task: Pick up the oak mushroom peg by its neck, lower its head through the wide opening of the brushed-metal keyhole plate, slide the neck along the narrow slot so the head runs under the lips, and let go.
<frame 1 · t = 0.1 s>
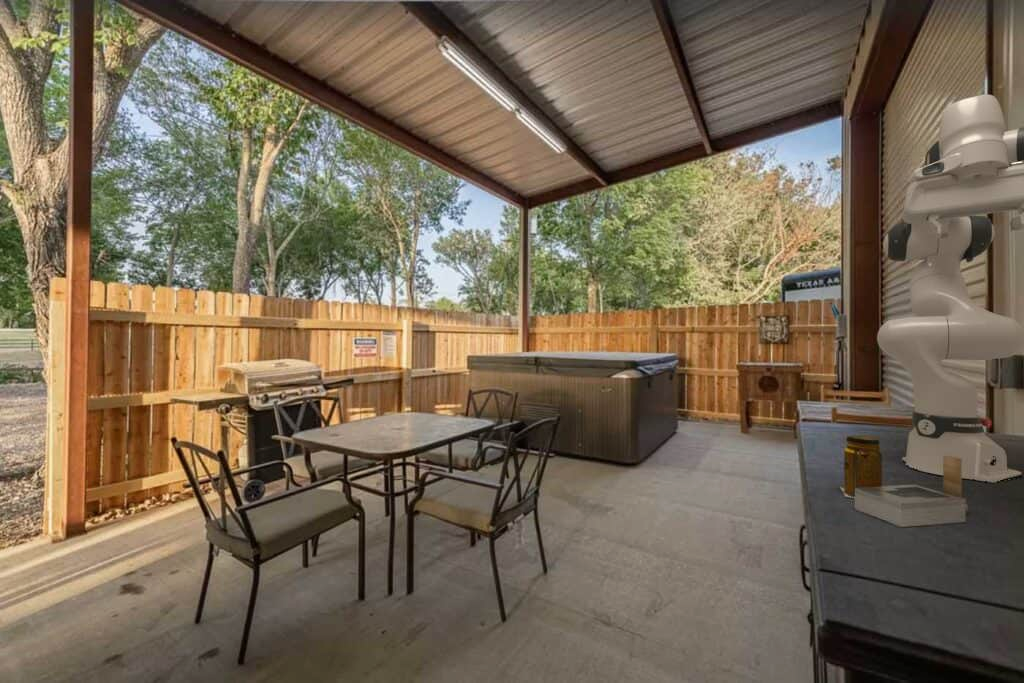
hand: (978, 232, 77), 52 cm above the table, tool tilted 20°, fingers open, 8 cm apart
keyhole plate: (908, 515, 77), on the table
condiment: (868, 497, 87), on the table
peg: (952, 510, 79), on the table
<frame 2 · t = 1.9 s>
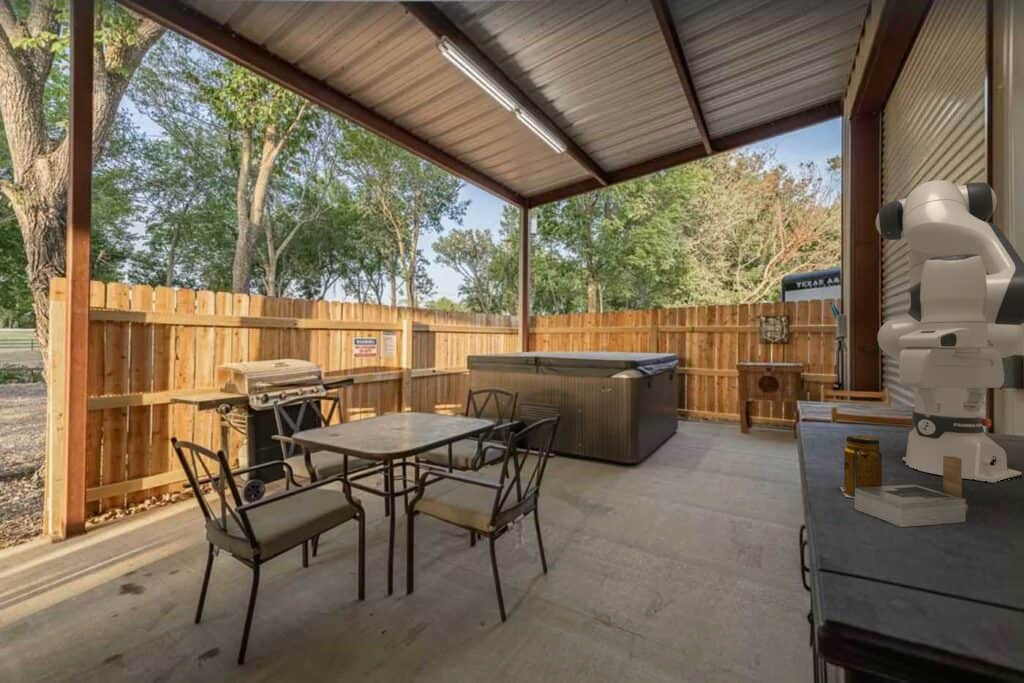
hand: (952, 411, 80), 19 cm above the table, tool pointing down, fingers open, 8 cm apart
nothing on the table moved.
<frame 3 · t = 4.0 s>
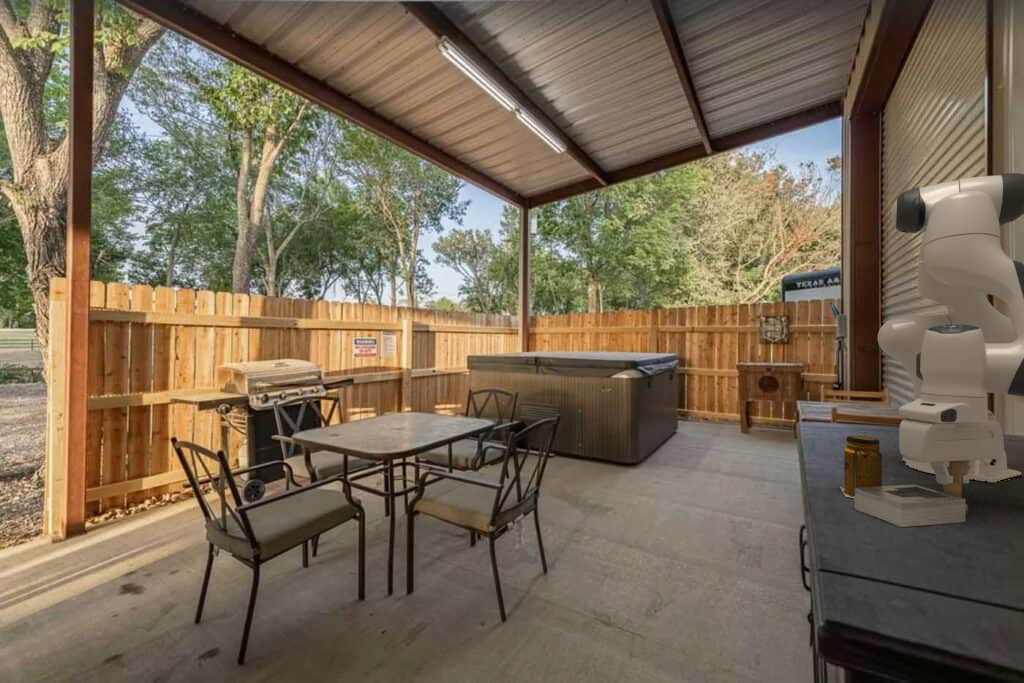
hand: (952, 483, 80), 5 cm above the table, tool pointing down, fingers closed on peg, 2 cm apart
peg: (952, 510, 79), on the table, touching gripper
everything else where it was.
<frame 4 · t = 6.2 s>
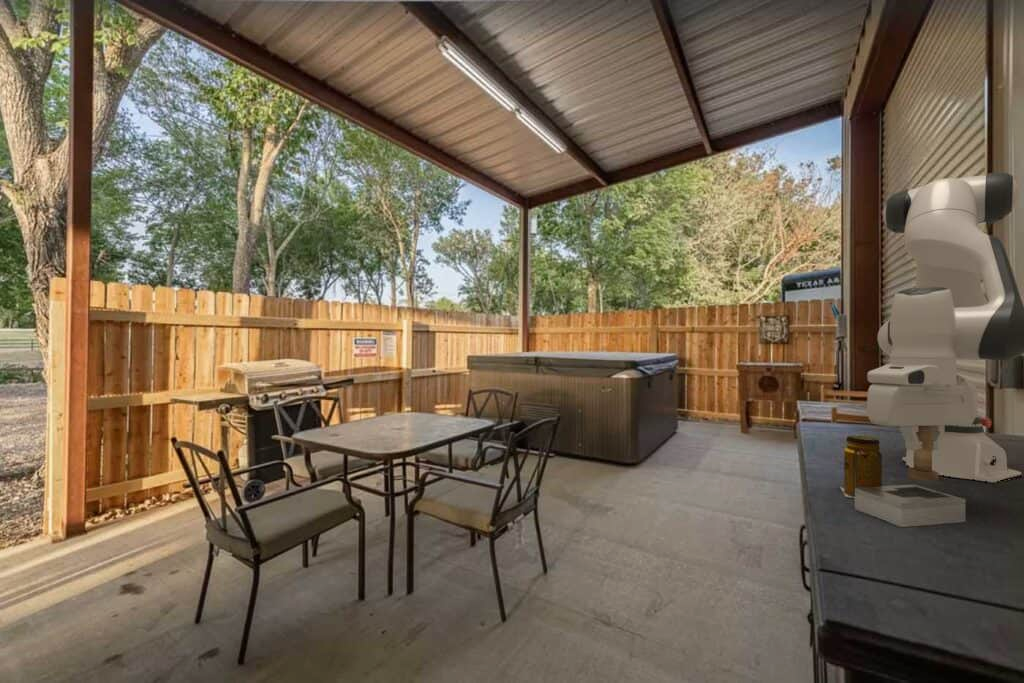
hand: (922, 449, 77), 12 cm above the table, tool pointing down, fingers closed on peg, 2 cm apart
peg: (922, 478, 77), point 7 cm above the table, touching gripper
everything else where it was.
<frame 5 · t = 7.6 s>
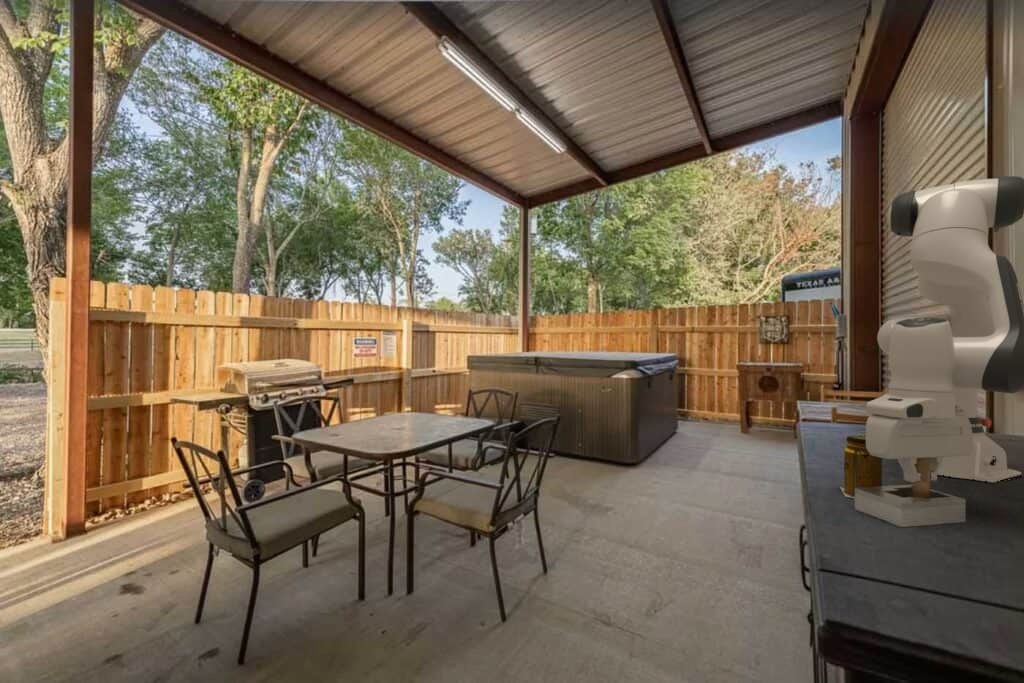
hand: (920, 480, 77), 6 cm above the table, tool pointing down, fingers closed on peg, 2 cm apart
peg: (921, 509, 77), point 1 cm above the table, touching gripper
everything else where it was.
when the fingers open (6 cm above the table, at t = 8.7 s): peg stays where it is, resting on keyhole plate.
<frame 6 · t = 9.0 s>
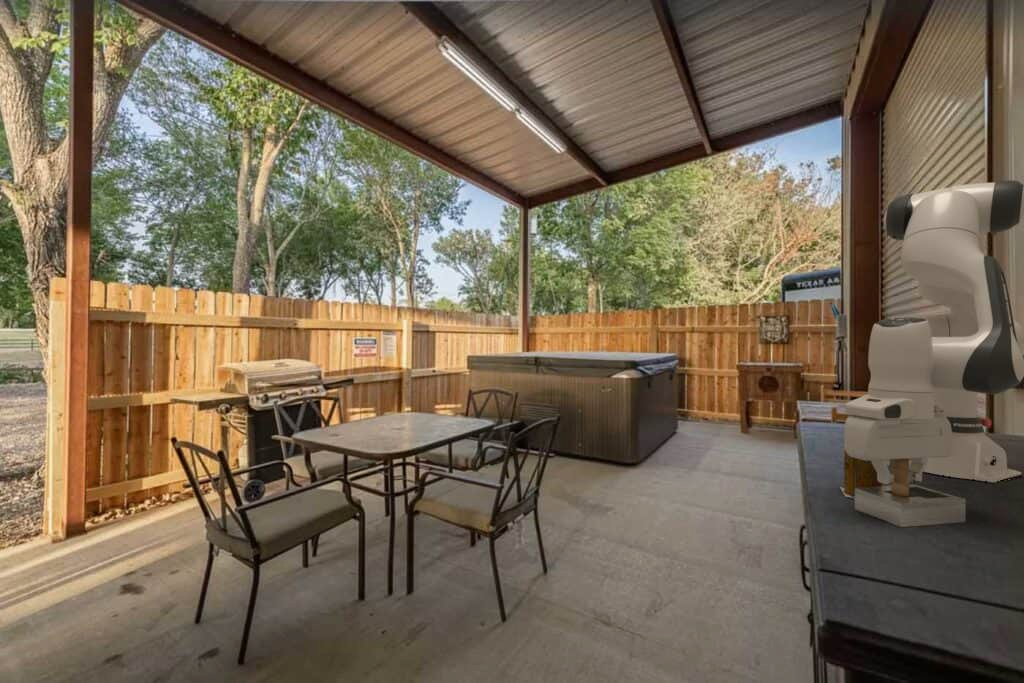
hand: (899, 482, 77), 6 cm above the table, tool pointing down, fingers open, 5 cm apart
peg: (900, 513, 76), resting on keyhole plate
everything else where it was.
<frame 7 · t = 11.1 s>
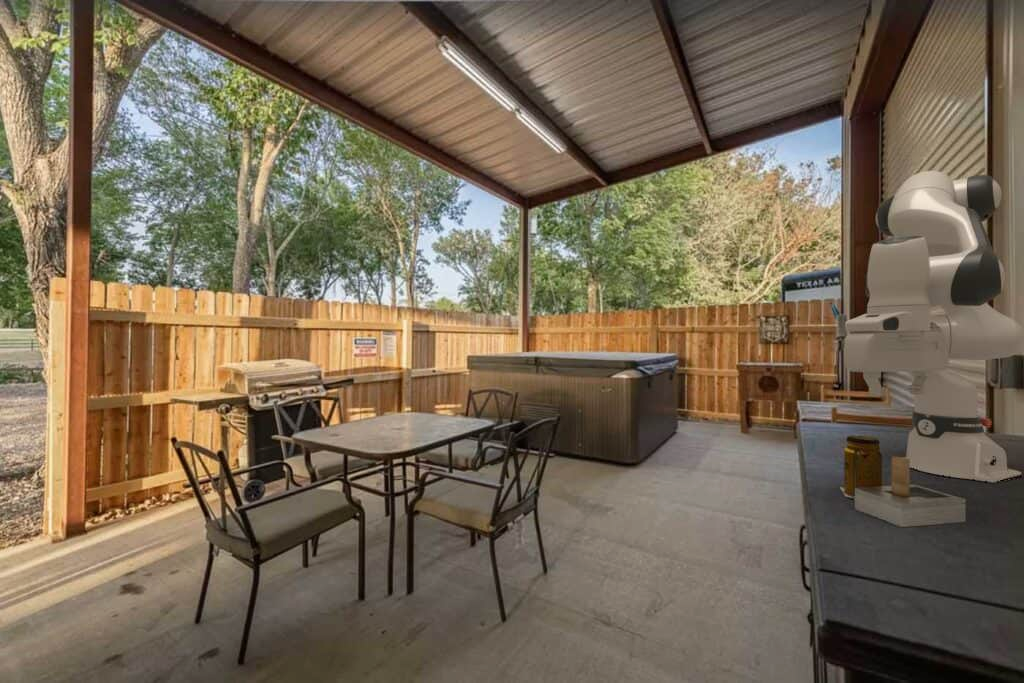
hand: (897, 395, 80), 22 cm above the table, tool pointing down, fingers open, 8 cm apart
nothing on the table moved.
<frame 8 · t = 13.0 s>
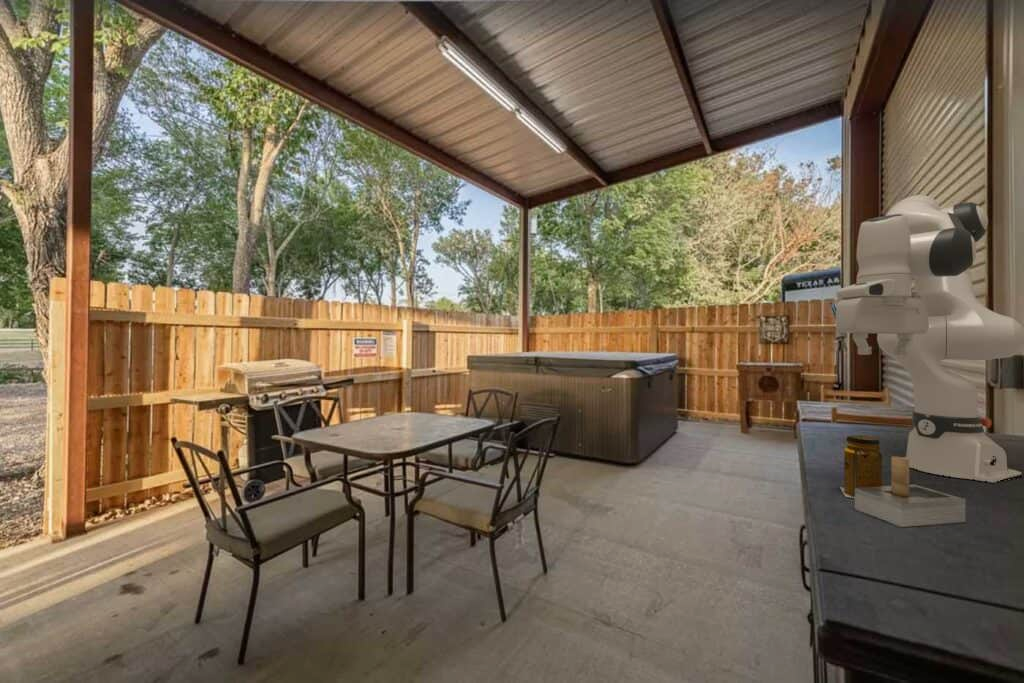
hand: (882, 355, 90), 29 cm above the table, tool pointing down, fingers open, 8 cm apart
nothing on the table moved.
at the end: peg 0.3 cm from the target spot on the keyhole plate, point 0.5 cm above the keyhole plate's base; peg tilted 0°; the gripper is holding nothing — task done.
